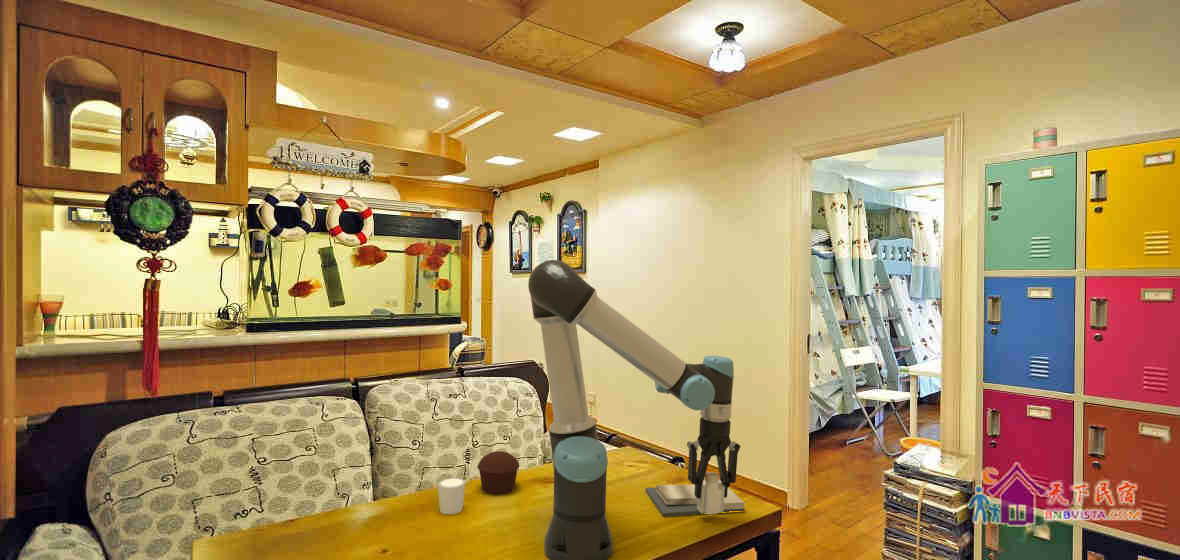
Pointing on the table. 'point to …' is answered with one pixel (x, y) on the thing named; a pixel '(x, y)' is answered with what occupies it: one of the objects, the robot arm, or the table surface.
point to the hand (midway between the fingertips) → (709, 510)
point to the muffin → (498, 472)
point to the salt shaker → (712, 494)
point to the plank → (677, 494)
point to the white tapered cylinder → (451, 495)
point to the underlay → (688, 509)
